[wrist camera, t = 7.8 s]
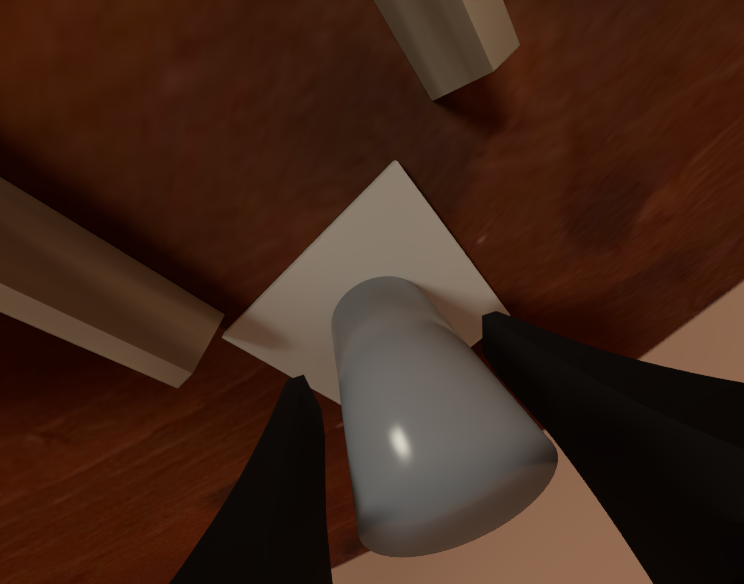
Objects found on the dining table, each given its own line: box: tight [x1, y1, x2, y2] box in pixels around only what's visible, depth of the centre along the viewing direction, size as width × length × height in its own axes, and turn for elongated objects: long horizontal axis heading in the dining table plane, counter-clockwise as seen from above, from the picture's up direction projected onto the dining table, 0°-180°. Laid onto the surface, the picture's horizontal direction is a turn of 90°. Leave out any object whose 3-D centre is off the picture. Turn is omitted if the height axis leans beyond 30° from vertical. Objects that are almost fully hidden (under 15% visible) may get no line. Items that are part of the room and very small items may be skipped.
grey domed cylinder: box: [331, 276, 558, 557], centre depth 10 cm, size 7×5×8 cm
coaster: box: [222, 161, 510, 405], centre depth 13 cm, size 10×10×1 cm
